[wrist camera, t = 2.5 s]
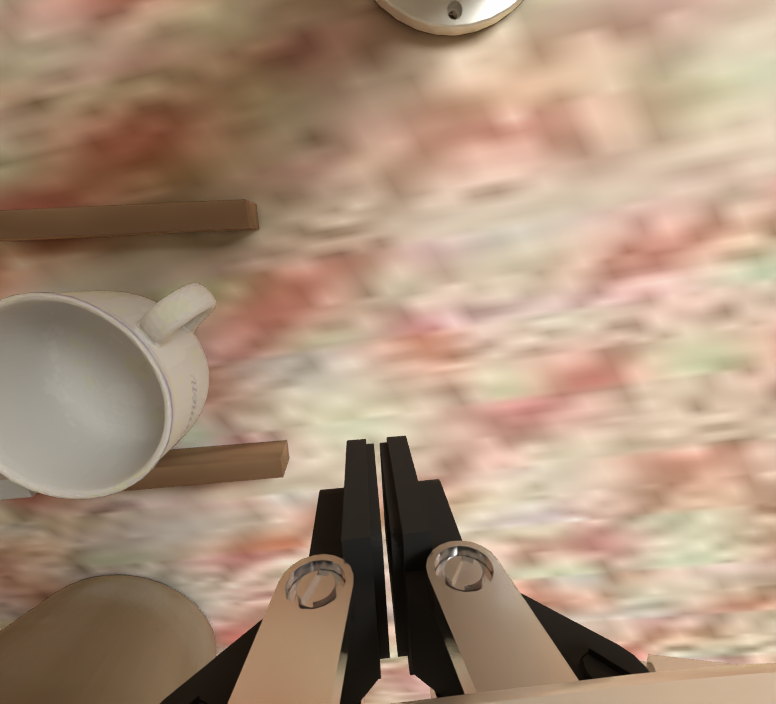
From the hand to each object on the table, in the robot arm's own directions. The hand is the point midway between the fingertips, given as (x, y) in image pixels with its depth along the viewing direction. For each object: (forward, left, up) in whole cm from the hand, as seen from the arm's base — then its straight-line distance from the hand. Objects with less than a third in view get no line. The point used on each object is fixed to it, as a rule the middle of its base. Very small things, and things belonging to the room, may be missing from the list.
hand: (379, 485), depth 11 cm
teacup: (0, -14, -17) cm, 22 cm away
